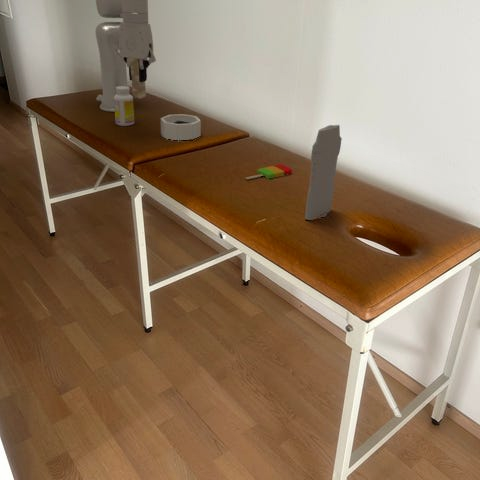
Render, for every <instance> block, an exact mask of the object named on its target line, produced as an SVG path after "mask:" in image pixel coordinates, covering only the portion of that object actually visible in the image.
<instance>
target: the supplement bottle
mask: <svg viewBox="0 0 480 480" xmlns="http://www.w3.org/2000/svg"><path fill="white" fill-rule="evenodd" d="M116 92H117V94H116V95H115V96H114V108H115V112H114V118H115V119H114V120H115V124H116V125H118V126H122V127H129V126H132V125H134V124H135V111H134V97H133V94H130V87H129V86H127V87H126V86H119V87H116Z"/></svg>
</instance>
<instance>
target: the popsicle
mask: <svg viewBox="0 0 480 480" xmlns="http://www.w3.org/2000/svg"><path fill="white" fill-rule="evenodd" d="M292 170H293V169H292V168H290V167H289V166H286V165H285V164H276V165H271V166H265V167H262V168H258V169H257V170H256V174H257V173H259V174H260V175H259V174H257V175H256V174H255V175H251V176H247V177H245V180H252V179H256V178H262V177H261V176H265V177H267V178H268V179H269V178H273V179H275V178H274V177H278V176H282V177H284V176H283V175H286V176H288V175H287V174H290V175H292V174H291V173H293V171H292ZM278 178H279V177H278ZM268 179H267V180H268ZM269 180H270V179H269Z"/></svg>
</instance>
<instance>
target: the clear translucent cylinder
mask: <svg viewBox="0 0 480 480" xmlns="http://www.w3.org/2000/svg"><path fill="white" fill-rule="evenodd" d="M130 65H131V76H132V81H131V89H132V91H131V93H132V97H133V99H134V98H135V99H139V100H141V99H143V98H146V97H147V95H146V94H147V93H146V92H147V91H146V81H144V82H139V69H140V62H139V59H134V58H130Z"/></svg>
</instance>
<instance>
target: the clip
mask: <svg viewBox="0 0 480 480" xmlns="http://www.w3.org/2000/svg"><path fill="white" fill-rule="evenodd" d="M174 123H175V124H190V122H184V121H179V120H178V121H176V122H174Z"/></svg>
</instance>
